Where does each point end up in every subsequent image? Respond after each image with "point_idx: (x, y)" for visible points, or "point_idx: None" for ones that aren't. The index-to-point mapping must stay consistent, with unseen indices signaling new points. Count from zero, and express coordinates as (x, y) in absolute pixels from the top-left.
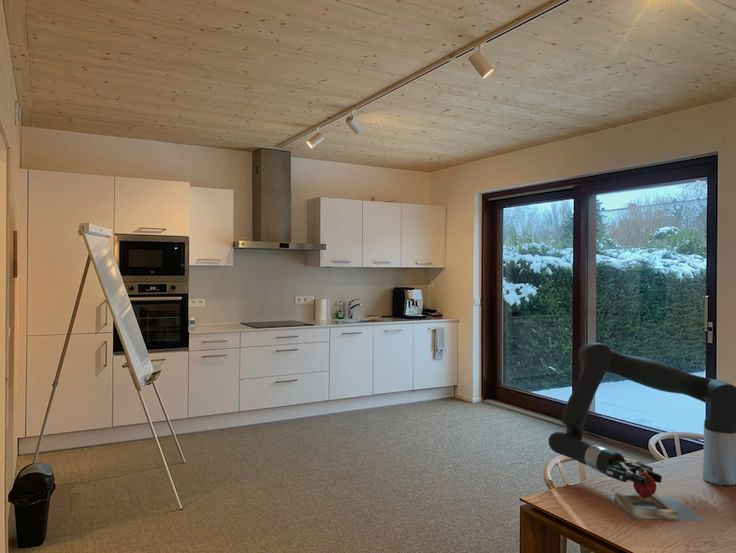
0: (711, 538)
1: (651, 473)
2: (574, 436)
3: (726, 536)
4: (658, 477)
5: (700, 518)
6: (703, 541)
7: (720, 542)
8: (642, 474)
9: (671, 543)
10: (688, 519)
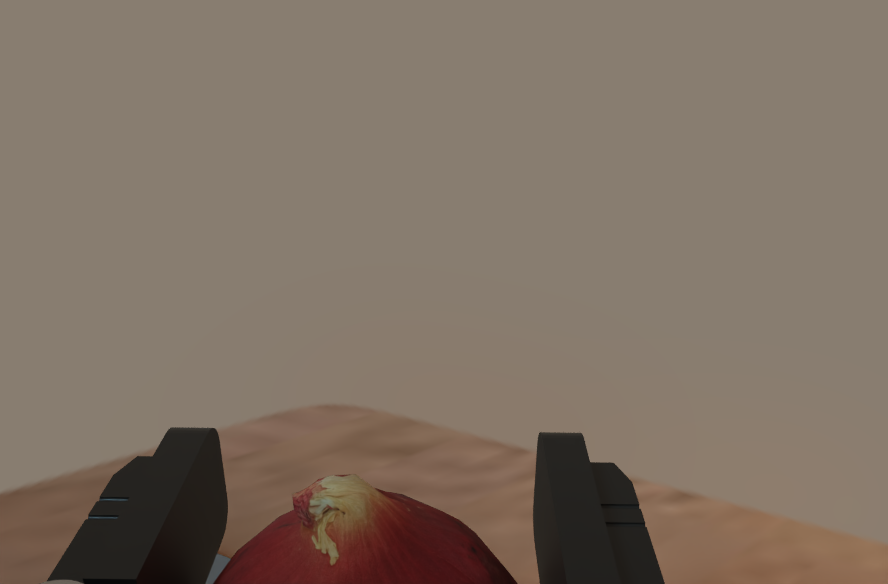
0: (316, 459)
1: (162, 545)
2: None
3: None
4: (215, 462)
5: None
6: (406, 457)
7: (323, 425)
8: (418, 545)
9: (640, 505)
10: (222, 567)
